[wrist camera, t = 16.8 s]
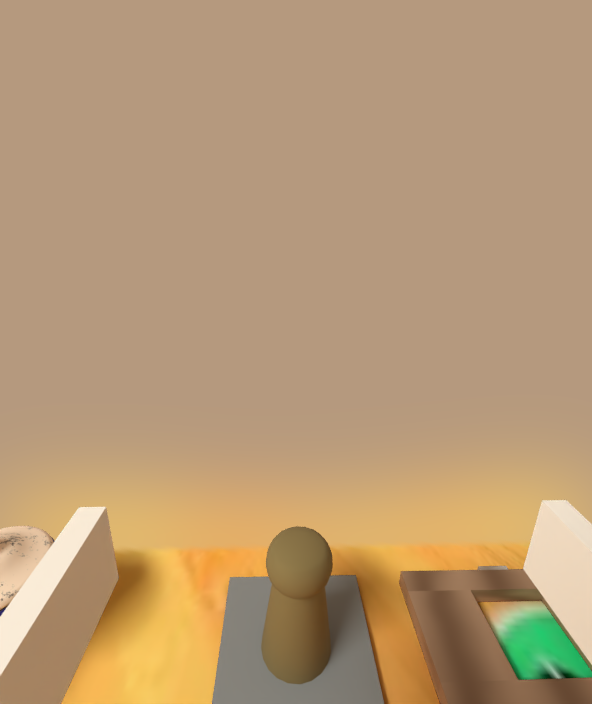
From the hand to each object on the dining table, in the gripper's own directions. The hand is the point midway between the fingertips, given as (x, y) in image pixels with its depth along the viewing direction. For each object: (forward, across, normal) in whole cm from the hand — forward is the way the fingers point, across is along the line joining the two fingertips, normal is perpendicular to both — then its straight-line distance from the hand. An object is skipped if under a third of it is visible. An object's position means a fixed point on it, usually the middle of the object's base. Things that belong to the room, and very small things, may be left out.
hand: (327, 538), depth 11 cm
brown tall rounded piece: (+13, 0, -25) cm, 28 cm away
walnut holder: (+13, +21, -26) cm, 36 cm away
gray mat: (+13, 0, -26) cm, 29 cm away
